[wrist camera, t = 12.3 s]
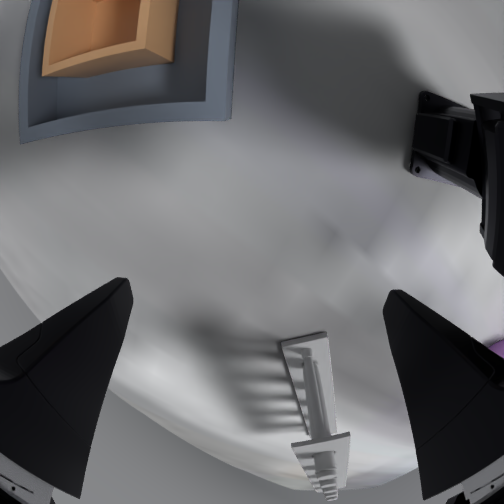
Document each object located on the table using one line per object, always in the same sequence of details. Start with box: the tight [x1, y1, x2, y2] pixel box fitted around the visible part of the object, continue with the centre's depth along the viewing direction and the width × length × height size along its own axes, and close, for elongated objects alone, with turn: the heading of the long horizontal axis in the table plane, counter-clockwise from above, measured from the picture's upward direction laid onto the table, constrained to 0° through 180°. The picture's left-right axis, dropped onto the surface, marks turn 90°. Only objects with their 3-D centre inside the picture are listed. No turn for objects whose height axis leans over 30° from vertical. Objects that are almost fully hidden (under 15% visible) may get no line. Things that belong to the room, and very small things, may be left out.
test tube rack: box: [281, 332, 350, 501], centre depth 25 cm, size 25×4×13 cm, turn 15°
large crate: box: [19, 0, 239, 144], centre depth 11 cm, size 14×14×4 cm
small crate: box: [42, 0, 179, 78], centre depth 10 cm, size 6×6×5 cm
